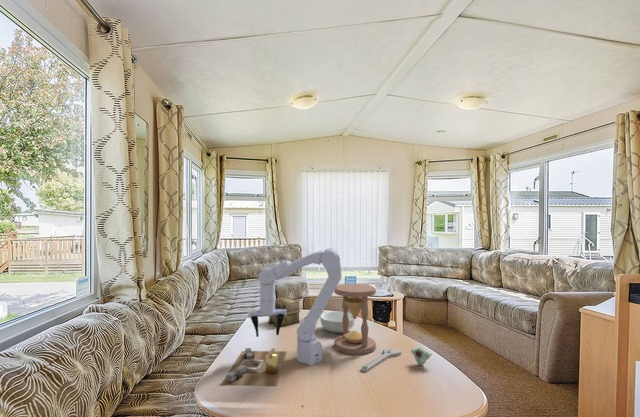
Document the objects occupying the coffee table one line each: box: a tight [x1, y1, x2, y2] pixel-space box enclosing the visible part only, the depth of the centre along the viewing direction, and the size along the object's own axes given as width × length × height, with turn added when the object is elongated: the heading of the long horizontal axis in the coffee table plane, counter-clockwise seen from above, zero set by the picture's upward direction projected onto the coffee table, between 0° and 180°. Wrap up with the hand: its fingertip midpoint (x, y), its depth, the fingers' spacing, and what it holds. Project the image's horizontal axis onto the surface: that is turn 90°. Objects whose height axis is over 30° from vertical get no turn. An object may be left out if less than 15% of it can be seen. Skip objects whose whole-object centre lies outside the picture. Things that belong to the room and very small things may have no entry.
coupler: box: [265, 347, 278, 374], centre depth 119 cm, size 5×4×7 cm
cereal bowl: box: [319, 310, 356, 334], centre depth 167 cm, size 17×17×7 cm
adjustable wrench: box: [360, 346, 402, 373], centre depth 132 cm, size 25×6×2 cm, turn 135°
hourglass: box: [333, 283, 377, 355], centre depth 146 cm, size 18×18×25 cm
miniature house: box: [268, 296, 301, 329], centre depth 180 cm, size 15×14×11 cm
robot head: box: [410, 346, 433, 366], centre depth 127 cm, size 8×4×7 cm, turn 52°
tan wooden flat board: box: [220, 347, 287, 387], centre depth 123 cm, size 18×28×4 cm, turn 179°
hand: (267, 335), depth 132 cm, fingers open, 7 cm apart
